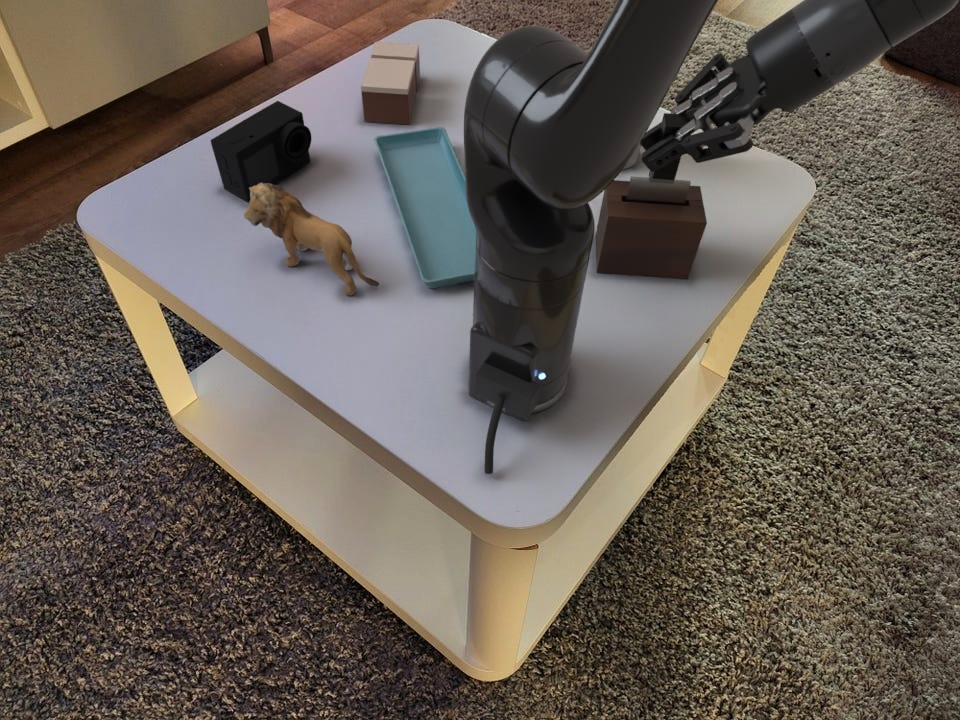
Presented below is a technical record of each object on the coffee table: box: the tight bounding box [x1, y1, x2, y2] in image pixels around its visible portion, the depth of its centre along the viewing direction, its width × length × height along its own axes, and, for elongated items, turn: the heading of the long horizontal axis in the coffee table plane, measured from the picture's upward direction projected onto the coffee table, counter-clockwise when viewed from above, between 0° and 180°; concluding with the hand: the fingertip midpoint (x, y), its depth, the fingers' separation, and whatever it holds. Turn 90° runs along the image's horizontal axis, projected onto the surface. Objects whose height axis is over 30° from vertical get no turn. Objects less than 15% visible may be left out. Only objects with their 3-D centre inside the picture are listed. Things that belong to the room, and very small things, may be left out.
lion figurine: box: [243, 183, 380, 296], centre depth 79 cm, size 15×5×9 cm, turn 66°
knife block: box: [594, 179, 708, 280], centre depth 82 cm, size 6×10×8 cm, turn 86°
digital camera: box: [210, 100, 312, 203], centre depth 89 cm, size 10×5×7 cm, turn 144°
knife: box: [626, 112, 692, 206], centre depth 77 cm, size 2×6×16 cm, turn 86°
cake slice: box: [370, 41, 421, 94], centre depth 104 cm, size 4×6×5 cm, turn 86°
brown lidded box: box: [360, 57, 417, 126], centre depth 100 cm, size 7×6×5 cm
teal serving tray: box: [373, 126, 476, 289], centre depth 88 cm, size 26×9×2 cm, turn 16°
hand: (645, 155), depth 74 cm, fingers closed on knife, 2 cm apart
